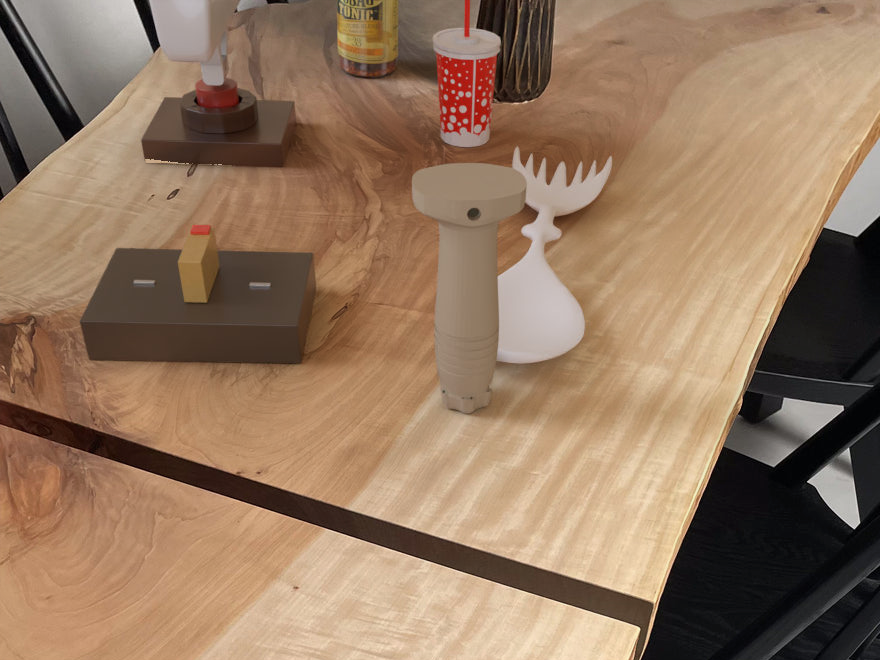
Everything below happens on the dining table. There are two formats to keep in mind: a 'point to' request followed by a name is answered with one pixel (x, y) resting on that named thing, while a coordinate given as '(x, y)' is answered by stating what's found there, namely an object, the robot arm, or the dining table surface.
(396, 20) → the brown tonic bottle
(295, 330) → the plate
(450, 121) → the beverage cup
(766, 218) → the dining table surface
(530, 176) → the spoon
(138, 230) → the dining table surface
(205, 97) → the bell button
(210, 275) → the lock knob
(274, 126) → the block
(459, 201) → the handle
